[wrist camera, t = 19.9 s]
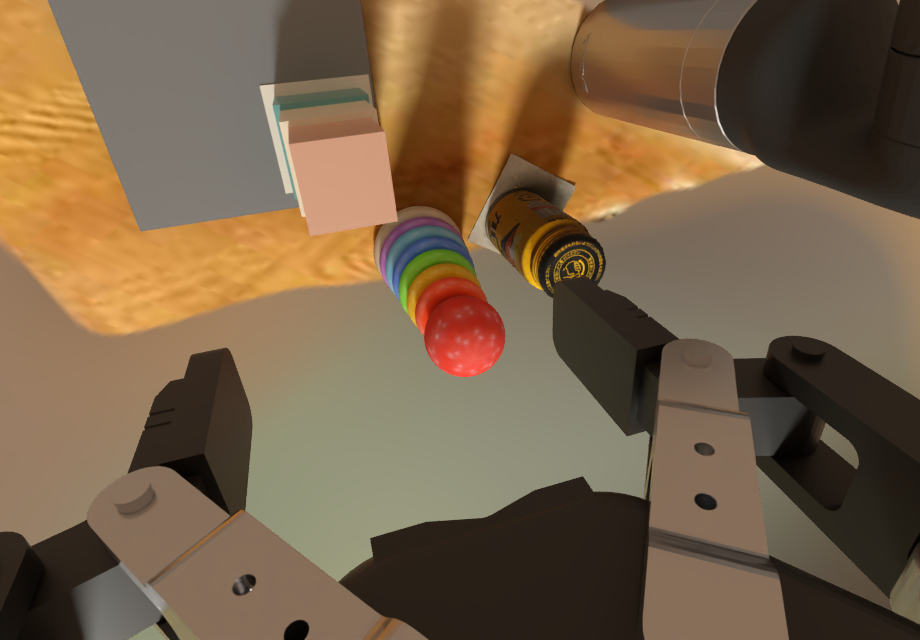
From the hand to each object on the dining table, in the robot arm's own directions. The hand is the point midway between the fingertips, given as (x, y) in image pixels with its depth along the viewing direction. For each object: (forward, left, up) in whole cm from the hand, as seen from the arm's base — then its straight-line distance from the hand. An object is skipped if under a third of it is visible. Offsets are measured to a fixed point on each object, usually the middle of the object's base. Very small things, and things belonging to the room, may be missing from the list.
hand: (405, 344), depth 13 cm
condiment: (-16, +9, -32) cm, 37 cm away
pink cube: (0, 0, -21) cm, 21 cm away
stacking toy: (-6, +10, -32) cm, 34 cm away
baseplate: (+5, -2, -32) cm, 33 cm away
